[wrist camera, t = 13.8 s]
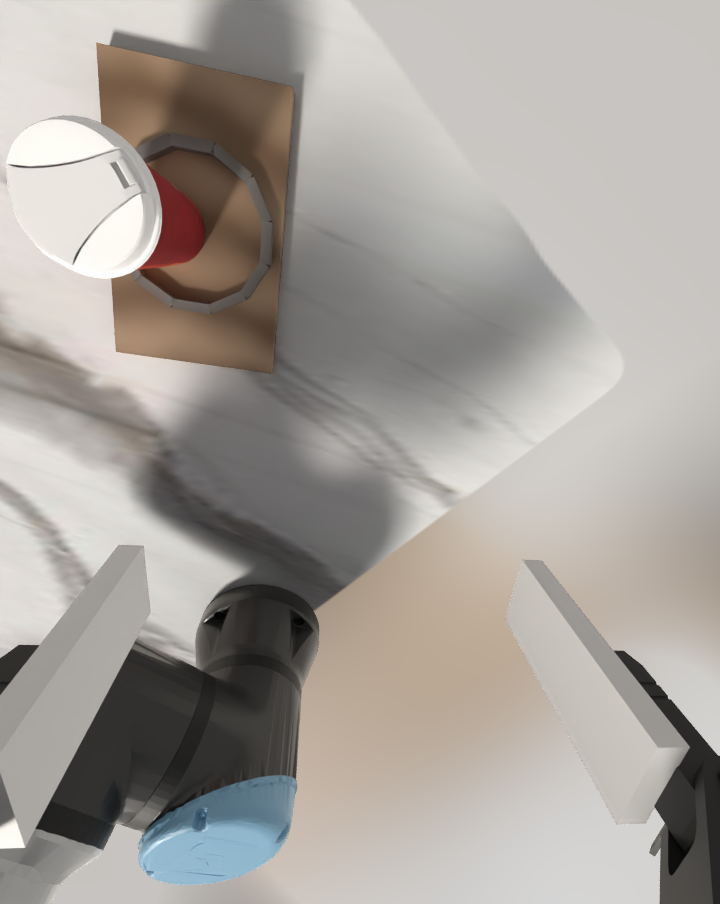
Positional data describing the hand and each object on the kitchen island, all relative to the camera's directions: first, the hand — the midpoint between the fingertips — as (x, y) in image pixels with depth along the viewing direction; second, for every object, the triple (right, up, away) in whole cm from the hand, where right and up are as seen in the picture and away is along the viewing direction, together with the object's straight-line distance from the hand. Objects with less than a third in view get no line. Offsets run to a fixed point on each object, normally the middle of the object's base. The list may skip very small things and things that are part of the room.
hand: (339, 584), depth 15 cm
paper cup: (-15, +23, +20) cm, 34 cm away
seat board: (-13, +24, +21) cm, 34 cm away
